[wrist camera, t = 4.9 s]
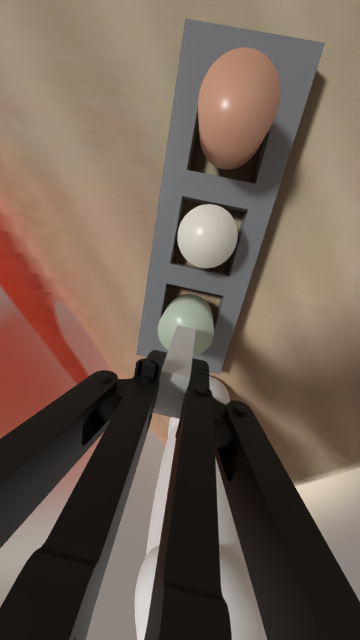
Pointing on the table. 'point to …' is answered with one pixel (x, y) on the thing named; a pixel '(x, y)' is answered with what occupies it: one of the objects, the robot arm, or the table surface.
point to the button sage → (188, 321)
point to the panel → (252, 198)
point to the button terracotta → (237, 106)
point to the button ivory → (207, 236)
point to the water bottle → (231, 556)
